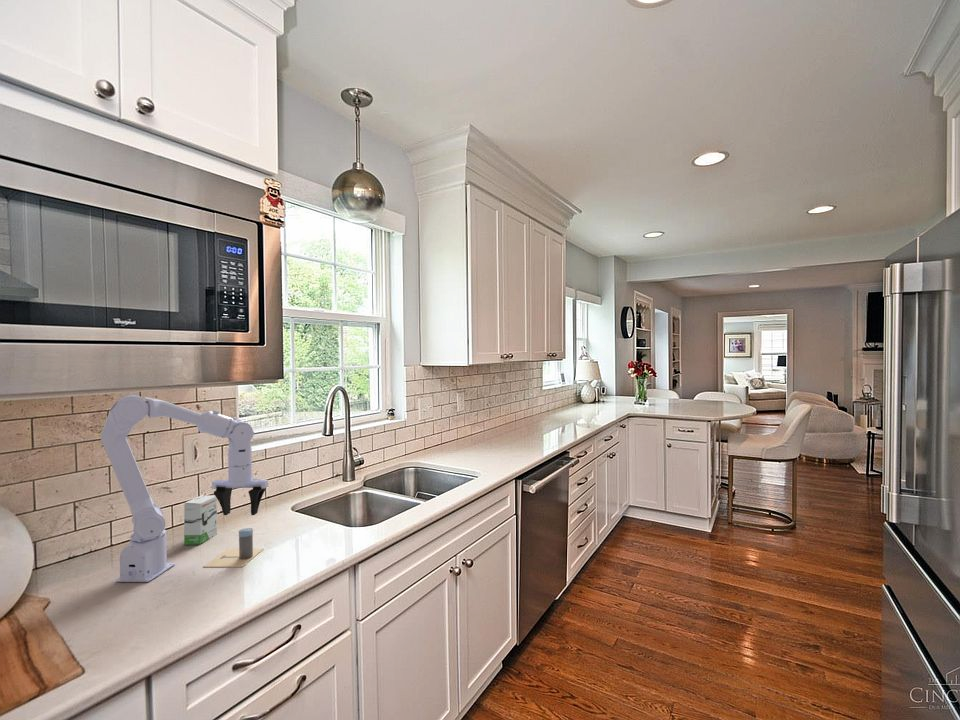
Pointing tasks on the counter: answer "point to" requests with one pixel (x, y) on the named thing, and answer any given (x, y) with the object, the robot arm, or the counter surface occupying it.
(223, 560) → the tan square board
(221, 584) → the counter surface
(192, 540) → the ink box
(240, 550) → the marker
